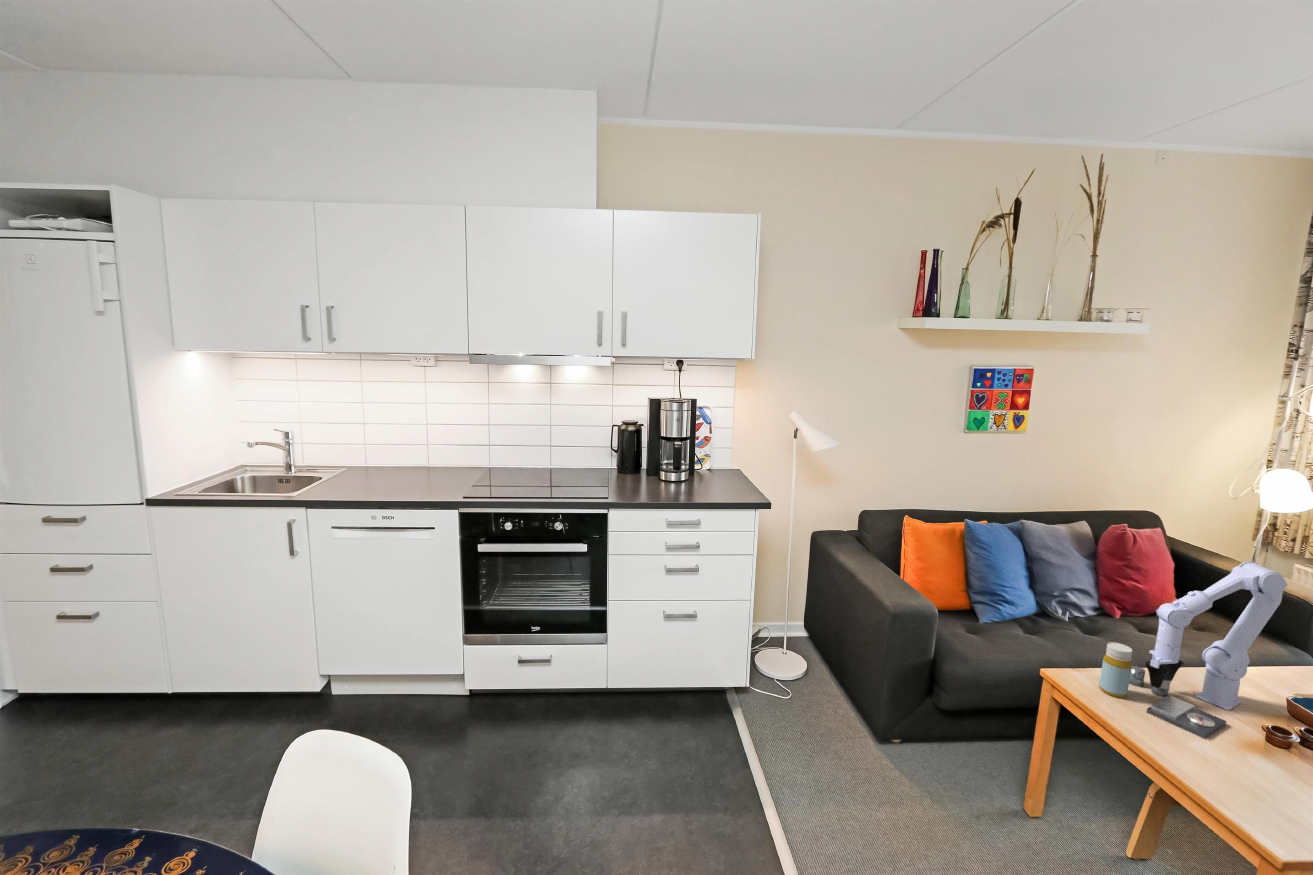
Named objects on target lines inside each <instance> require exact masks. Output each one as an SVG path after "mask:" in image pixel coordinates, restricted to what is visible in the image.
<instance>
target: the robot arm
mask: <svg viewBox="0 0 1313 875" xmlns="http://www.w3.org/2000/svg"><path fill="white" fill-rule="evenodd" d="M1287 587H1288V582H1287V581H1286V579H1285V577H1284V576H1283V575H1282V574H1281V573H1280V572H1278V571H1275V570H1272V569H1270V568H1268V567H1264V566H1263V565H1261V564H1259V563H1258V562H1254V561H1252V560H1250V561H1249V560H1248V561H1244V562H1241V563H1240V564H1239V565H1237V566H1234V567H1233V568H1232V570H1231V572H1230V573H1229V574H1228V575H1226V576H1225V577H1223V578H1221V579H1220V580H1218V581H1217V582H1215V583H1213V584H1212V585H1210V586H1209V587H1207V588H1206V589H1204V590H1203V591H1202V590H1193V591H1189V592H1187V594H1186V595H1184V596H1183V597H1181V598H1178V599H1177V600H1173V601H1172V602H1168V603H1163V604H1161V605H1160V606H1159V607H1158V608H1157V609H1156V610H1155V612H1156V616H1158V629H1157V633H1156V638H1155V639H1156V640H1155V645H1154V649H1151V650H1149V651H1148V653H1149V654H1151V655H1152V659H1150V661H1149V660H1147V661H1145V667H1146V669H1147V671H1148V675H1149V682H1150V686H1151V687H1152V686H1154V687H1156V688H1160V687H1161V685H1162V682H1163V679H1164V677H1165V678H1167V679H1169V680H1170V683H1172V682H1173V679H1175V678H1174V677H1175V675H1176V674H1177V672H1178V671H1179V669H1180V668H1181V667H1182V666H1183V665H1184V661H1182V660H1180V656H1181V652H1180V650H1181V646H1182V640H1183V634H1184V629H1185V628H1186V627H1188V626H1189V625H1190V624H1191V622H1192V620H1193V619H1194V617H1196V616H1198V615H1200V614H1203V613H1204V612H1206V611H1208V610H1210V609H1211V608H1212V607H1213V604H1214V602H1215V601H1217V600H1219V599H1221V598H1223V597H1225V596H1228V595H1230V594H1232V593H1235V592H1237V591H1240V590H1248V591H1250V593H1251V594H1252V598H1251V599H1250V601H1249V603H1248V604H1247V605H1246V607H1245V609H1244V610H1243V611H1242V613H1241V614H1240V616H1238V618H1237V619H1236V620H1235V621H1236V622H1235V623H1234V624H1233V626H1232V627H1231V628H1230V630H1229V631H1228V633H1227V634H1226V636H1225V637H1224V639H1221V640H1220V639H1219V640H1216V641H1214V642H1212V644H1211V645H1210V646H1209V647H1206V648H1205V649H1204V651H1202V655H1201V656H1202V657H1201V658H1202V660H1203V661H1204V663H1205V667H1206V668H1205V674H1204V679H1203V685H1202V690H1201V691H1200V692H1198V693H1197V694H1196V695H1195V697H1196V698H1198V699H1201V700H1203V701H1205V702H1207V703H1209V704H1212V705H1215V706H1217V707H1220V708H1222V709H1224V710H1227V711H1230V710H1231V709H1233V708H1235V707H1236V706H1238V705H1240V704H1241V703H1242V700H1240V699H1238V696H1239V691H1240V686H1241V679H1243V678H1245V677H1246V674H1247V672H1248V666H1249V664H1250V663H1251V660H1250V657H1249V654H1248V650H1249V649H1250V647H1251V646H1252V645H1253V643H1254V642H1255V640H1256V639H1257V638H1258V636H1259V634H1261V632H1262V630H1263V629H1264V627H1265V626H1266V624H1267V623H1268V621H1269V620H1270V619H1271V617H1272V616H1273V614H1274V613H1275V611H1276V610H1277V608H1278V607H1279V606H1280V605H1281V603H1282V599H1283V593H1284V590H1285V589H1286V588H1287Z"/></svg>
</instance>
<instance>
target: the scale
mask: <svg viewBox="0 0 1313 875" xmlns="http://www.w3.org/2000/svg"><path fill="white" fill-rule="evenodd" d="M1146 713H1147V714H1149V715H1151V716H1153V717H1155V718H1158V719H1160V720H1163V721H1164V722H1167V723H1169V724H1171V725H1174V726H1176V727H1178V728H1179V729H1182V730H1185V731H1186V732H1189V733H1191V734H1193V735H1196V736H1198V737H1200V738H1202V739H1208V738H1209V737H1210V736H1211V735H1213V734H1215V733H1216V732H1217V731H1219V730H1220V729H1222V728H1223V727H1225V726H1226V725H1227V720H1225V719H1223V718H1220V717H1218V716H1215V715H1213V714H1211V713H1209V712H1206V711H1204V710H1201V709H1199V708H1196V707H1195V705H1194V704H1192V703H1189V702H1187V701H1185V700H1183V699H1180V698H1177V697H1176V696H1172V695H1168V697H1163V698H1162V699H1160V700H1159V701H1157V702H1155V703H1154V704H1152V705H1150V707H1148V708H1147V709H1146Z"/></svg>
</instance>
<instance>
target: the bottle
mask: <svg viewBox="0 0 1313 875" xmlns="http://www.w3.org/2000/svg"><path fill="white" fill-rule="evenodd" d="M1105 652H1106V653H1105V654H1104V656H1103V660H1102V665H1101V672H1100V677H1099V689H1100V690H1101V691H1102V692H1103V693H1104V694H1106V695H1108V696H1111V697H1114V698H1119V699H1121V698H1125V697H1127V695H1128V692H1129V685H1130V684H1129V681H1130V674H1131V668H1132V666H1133V665H1132V656H1133V648H1131V647H1129V646H1128V645H1126V644H1122V643H1119V642H1113V641H1111V642H1107V644H1106V651H1105Z"/></svg>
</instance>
